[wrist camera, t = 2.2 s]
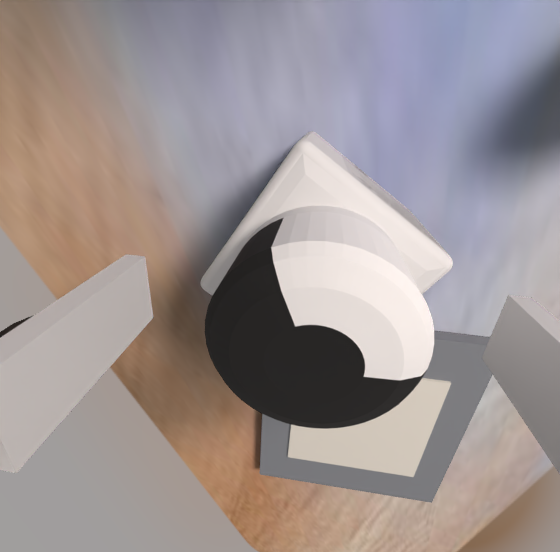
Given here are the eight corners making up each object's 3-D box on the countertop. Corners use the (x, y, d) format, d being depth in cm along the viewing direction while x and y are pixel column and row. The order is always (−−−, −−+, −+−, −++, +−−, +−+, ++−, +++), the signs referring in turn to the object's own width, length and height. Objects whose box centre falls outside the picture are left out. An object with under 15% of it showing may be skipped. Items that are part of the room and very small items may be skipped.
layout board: (268, 311, 23) (266, 320, 22) (497, 338, 22) (506, 349, 21) (261, 464, 32) (259, 476, 31) (428, 491, 30) (432, 504, 29)
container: (328, 297, 22) (330, 490, 11) (237, 231, 21) (130, 372, 10) (412, 212, 19) (543, 359, 8) (310, 127, 18) (282, 149, 6)
